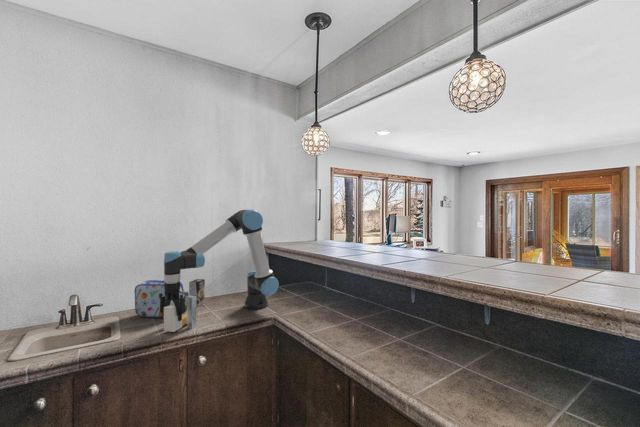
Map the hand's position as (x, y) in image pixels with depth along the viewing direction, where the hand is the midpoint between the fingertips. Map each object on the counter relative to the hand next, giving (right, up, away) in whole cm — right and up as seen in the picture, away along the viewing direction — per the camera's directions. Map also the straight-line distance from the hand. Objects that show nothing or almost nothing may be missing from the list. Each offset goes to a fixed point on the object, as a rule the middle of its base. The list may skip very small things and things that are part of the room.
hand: (172, 326), depth 154 cm
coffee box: (-6, -3, +46) cm, 47 cm away
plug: (+2, -1, +8) cm, 8 cm away
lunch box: (-19, -3, +24) cm, 31 cm away
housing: (+2, -3, +8) cm, 8 cm away
